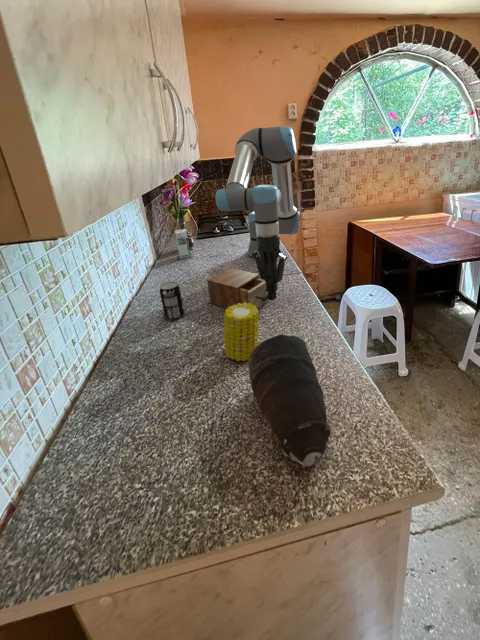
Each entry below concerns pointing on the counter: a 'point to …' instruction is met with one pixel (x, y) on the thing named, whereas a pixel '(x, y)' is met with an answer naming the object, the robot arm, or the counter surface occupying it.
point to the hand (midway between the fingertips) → (272, 298)
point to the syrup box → (183, 243)
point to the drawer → (254, 293)
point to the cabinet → (228, 286)
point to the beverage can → (171, 300)
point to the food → (240, 331)
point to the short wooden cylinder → (247, 288)
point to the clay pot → (290, 396)
